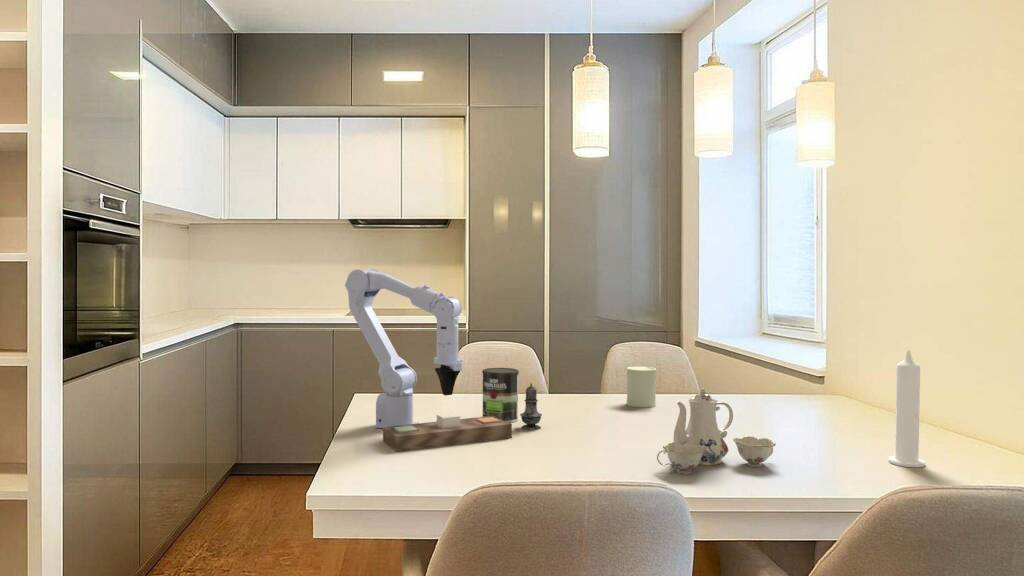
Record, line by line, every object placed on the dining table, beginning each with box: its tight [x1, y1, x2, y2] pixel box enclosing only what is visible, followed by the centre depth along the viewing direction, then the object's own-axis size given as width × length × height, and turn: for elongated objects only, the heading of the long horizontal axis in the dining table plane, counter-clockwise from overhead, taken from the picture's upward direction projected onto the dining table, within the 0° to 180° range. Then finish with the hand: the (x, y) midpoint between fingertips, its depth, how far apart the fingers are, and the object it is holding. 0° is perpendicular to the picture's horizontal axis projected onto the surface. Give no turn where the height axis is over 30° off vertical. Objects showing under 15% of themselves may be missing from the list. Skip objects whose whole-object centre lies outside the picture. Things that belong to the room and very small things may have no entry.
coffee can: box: [481, 367, 520, 424], centre depth 196 cm, size 10×10×14 cm
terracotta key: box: [477, 417, 500, 424], centre depth 178 cm, size 4×4×3 cm
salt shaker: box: [519, 383, 543, 431], centre depth 186 cm, size 6×6×12 cm
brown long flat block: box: [382, 416, 513, 453], centre depth 173 cm, size 30×11×4 cm, turn 117°
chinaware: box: [656, 387, 777, 475], centre depth 151 cm, size 28×17×17 cm, turn 113°
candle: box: [887, 349, 926, 469], centre depth 152 cm, size 7×7×25 cm
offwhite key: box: [436, 412, 461, 429], centre depth 173 cm, size 4×4×3 cm
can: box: [625, 365, 657, 409], centre depth 218 cm, size 9×9×12 cm
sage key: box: [394, 426, 417, 433], centre depth 168 cm, size 4×4×3 cm
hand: (447, 394), depth 182 cm, fingers closed
